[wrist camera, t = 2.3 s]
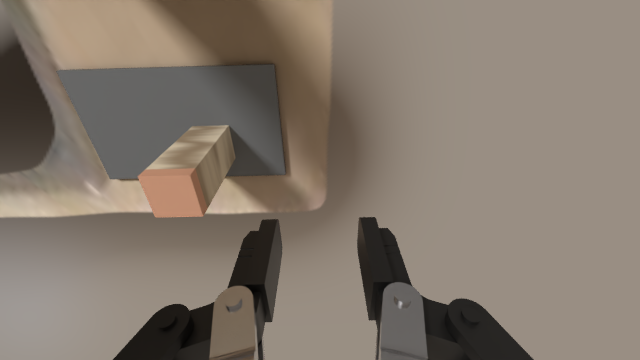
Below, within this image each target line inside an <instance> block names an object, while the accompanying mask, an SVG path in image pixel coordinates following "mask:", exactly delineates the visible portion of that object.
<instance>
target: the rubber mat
mask: <svg viewBox="0 0 640 360" xmlns="http://www.w3.org/2000/svg"><path fill="white" fill-rule="evenodd" d="M56 72H57V74H58V76H59V78H60V80H61V82H62V84H63V86H64V88H65V90H66V92H67V94H68V96H69V98H70V100H71V102H72V104H73V106H74V108H75V110H76V112H77V114H78V116H79V118H80V120H81V122H82V124H83V126H84V128H85V130H86V132H87V134H88V136H89V138H90V140H91V142H92V144H93V146H94V148H95V150H96V152H97V154H98V156H99V158H100V160H101V162H102V164H103V166H104V168H105V170H106V172H107V174H108V176H109V178H110V179H138V176H139V175H140V174H141V173H142V172H143V171H144V170H145V169H146V168H147V167H148V166H150V165H151V164H152V163H153V162H154V161H155V160H156V159H157V158H158V157H159V156H160V155H161V154H163V153H164V152H165V151H166V150H167V149H168V148H169V147H170V146H171V145H172V144H173V143H175V142H176V141H177V140H178V139H179V138H180V137H181V136H182V135H183V134H184V133H185V132H186V131H188V130H189V129H190V128H191V127H192V126H221V125H229V129H230V134H231V138H232V143H233V148H234V153H235V160H234V162H233V164H232V165H231V167H230V169H229V171H228V173H227V174H226V176H260V175H285V174H286V170H285V161H284V151H283V141H282V132H281V122H280V113H279V103H278V94H277V84H276V75H275V65H274V64H257V65H221V66H186V67H150V68H115V69H79V70H59V71H56Z"/></svg>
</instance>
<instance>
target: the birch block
mask: <svg viewBox="0 0 640 360" xmlns="http://www.w3.org/2000/svg"><path fill="white" fill-rule="evenodd" d="M234 160H235V153H234V148H233V143H232V138H231V134H230V129H229V125H221V126H192V127H191V128H190V129H189V130H188V131H186V132H185V133H184V134H183V135H182V136H181V137H180V138H179V139H178V140H177V141H176V142H175V143H173V144H172V145H171V146H170V147H169V148H168V149H167V150H166V151H165V152H164V153H163V154H161V155H160V156H159V157H158V158H157V159H156V160H155V161H154V162H153V163H152V164H151V165H150V166H148V167H147V168H146V169H145V170H144V171H143V172H142V173H141V174H140V175H139V176H138V179H139V181H140V183H141V185H142V188H143V190H144V192H145V195H146V197H147V199H148V201H149V204H150V206H151V208H152V211H153V213H154V215H155V217H191V216H192V217H195V216H204V214H205V212H206V210H207V208H208V207H209V205H210V203H211V201H212V199H213V198H214V196H215V194H216V192H217V190H218V189H219V187H220V185H221V183H222V182H223V180H224V178H225V176H226V174H227V173H228V171H229V169H230V167H231V165H232V164H233V162H234Z"/></svg>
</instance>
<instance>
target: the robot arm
mask: <svg viewBox="0 0 640 360" xmlns="http://www.w3.org/2000/svg"><path fill="white" fill-rule="evenodd" d="M357 248H358V257H359V263H360V269H361V275H362V281H363V287H364V293H365V299H366V306H367V312H368V318H369V320H376V324H377V330H378V332H377V339H376V355H375V360H533V359H532V358H531V357H530V356H529V355H528V353H527V352H526V351H525V350H524V349H523V348H522V347H521V346H520V345H519V344H518V343H517V342H516V341H515V340H514V339H513V338H512V337H511V336H510V335H509V334H508V333H507V332H506V331H505V330H504V329H503V327H501V325H500V324H499V323H498V322H497V321H496V320H495V319H494V318H493V317H492V316H491V315H490V314H489V313H488V312H487V311H486V310H485V309H484V308H483V307H482V306H480V305H479V304H477V303H476V302H474V301H471V300H468V299H456V300H453V301H452V302H451V303H450V304H449V305H446V304H442V303H439V302H435V301H432V300H429V299H427V298H425V297H423V296H422V295H420V293H419V292H418V291H417V290H416V289H415V288H414V287H413V286H412V285H411V282H410V279H409V276H408V273H407V271H406V268H405V265H404V262H403V259H402V256H401V254H400V250H399V247H398V244H397V241H396V238H395V236H394V235H393V234H392V233H391V231H390V230H389V229H388V228H379V227H378V224H377V221H376V218H375V217H367V218H366V217H363V218H359V225H358V240H357ZM281 257H282V241H281V233H280V226H279V220H278V219H276V220H275V219H272V220H262V221H261V225H260V228H259V231H250V232H249V234H248V235H247V236H246V237H245V238H244V239H243V243H242V245H241V250H240V252H239V255H238V258H237V261H236V264H235V267H234V270H233V273H232V276H231V279H230V282H229V286H228V288H227V289H226V290H224V291H223V292H222V293H221V294H220V295H219V296H218V297H217V299H216V301H215V302H213V303H211V304H209V305H206V306H203V307H200V308H197V309H194V310H190V311H189V310H188V308H187V307H186V306H184V305H181V304H173V305H169V306H166V307H164V308H162V309H161V310H159V311H158V312H156V313H155V314H154V315H153V316H152V317H151V318H150V319H149V321H148V322H147V323H146V324H145V325H144V326H143V327H142V328H141V329H140V330H139V332H138V333H137V334H136V335H135V336H134V337H133V338H132V339H131V340H130V341H129V342H128V344H127V345H126V346H125V347H124V348H123V349H122V350H121V351H120V352H119V354H118V355H117V356H116V357H115V358H114V359H113V360H265V356H264V343H263V331H264V325H265V322H272V319H273V313H274V306H275V298H276V291H277V285H278V278H279V272H280V265H281Z"/></svg>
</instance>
